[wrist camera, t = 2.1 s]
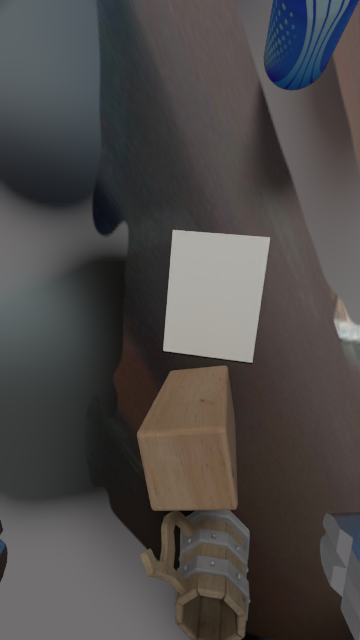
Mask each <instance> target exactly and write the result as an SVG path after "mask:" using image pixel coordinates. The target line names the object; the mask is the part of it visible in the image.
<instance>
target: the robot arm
mask: <svg viewBox="0 0 360 640" xmlns="http://www.w3.org/2000/svg"><path fill="white" fill-rule="evenodd" d="M323 526H324V528H325V530H326V531H327V533H326V534H325V535H324V536H323V537H322V538H321V545H320V553H321V560H322V565H323V568H324V571H325V574H326V576H327V579H328V581H329V583H330V586H331V587H332V588H333V589H334V590H335V591H336V592H338V593H339V594H340V595H341V596H342V602H341V611H342V613H343V615H344V617H345V619H346V622H347V624H348V626H349V628H350V631H351V633H352V635H353V637H354V639H355V640H360V512H343V513H327V514H326V515H325V517H324V523H323ZM2 531H3V528H2V524H1V521H0V534H1V533H2ZM6 563H7V547H6V544H5V543H4V542H3V541H2V540H1V539H0V581H1V579H2V577H3V574H4V570H5V567H6Z"/></svg>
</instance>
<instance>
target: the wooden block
mask: <svg viewBox="0 0 360 640" xmlns="http://www.w3.org/2000/svg"><path fill="white" fill-rule="evenodd" d="M137 438H138V443H139V448H140V453H141V458H142V463H143V468H144V473H145V478H146V483H147V488H148V493H149V498H150V503H151V508H152V510H154V511H171V510H235V509H236V508H237V505H238V497H237V468H236V440H235V416H234V409H233V402H232V395H231V387H230V380H229V373H228V368H227V366H214V367H204V368H194V369H184V370H174V371H171V372H170V373H169V375H168V377H167V379H166V380H165V382H164V384H163V386H162V388H161V390H160V392H159V393H158V395H157V397H156V399H155V401H154V403H153V405H152V406H151V408H150V410H149V412H148V414H147V416H146V418H145V420H144V421H143V423H142V425H141V427H140V429H139V431H138V433H137Z"/></svg>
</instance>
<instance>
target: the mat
mask: <svg viewBox="0 0 360 640" xmlns="http://www.w3.org/2000/svg"><path fill="white" fill-rule="evenodd" d="M269 242H270V237H257V236H244V235H231V234H218V233H205V232H192V231H179V230H173V234H172V247H171V260H170V272H169V285H168V297H167V310H166V322H165V335H164V347H163V351H168V352H175V353H183V354H190V355H198V356H205V357H212V358H220V359H227V360H235V361H242V362H250V363H252V361H253V354H254V347H255V340H256V333H257V326H258V319H259V312H260V305H261V298H262V291H263V284H264V277H265V270H266V263H267V256H268V249H269Z"/></svg>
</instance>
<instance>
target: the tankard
mask: <svg viewBox="0 0 360 640" xmlns="http://www.w3.org/2000/svg"><path fill="white" fill-rule="evenodd" d="M175 525H177V526H178V527H179V528H180V529H181V535H180V557H179V561H180V567H179V568H178V569H177V571H176V570H175V569H174V568H173V566H174V557H175V541H174V528H175ZM161 534H162V550H161V557H160V561H156V559H155V557H154V555H153V552H152V550H151V549H148V550H147V551H146V552H144V553H143V554H141V555H140V558H141V561H142V563H143V565H144V568H145V569H146V572H147V574H148V576H150V577H154V578H159V579H162V580H164V581H167V582H169V583H170V584H171V585H172V586H173V587H174V589H175V606H176V623H177V625H178V626H179V627H180V628H181V629H182V630H183V631H184V632H185V633H186V635H187V636H188V637H190V638H191V640H240V639H242V638H243V637H244V636H245V624H246V620H247V619H248V605H249V602H250V598H249V583H248V580H247V579H246V576H247V572H248V568H247V561H248V553H249V539H250V534H249V529H248V528H247V527H246V526H245V525H244V524H243V523H242V522H241V521H240V520H239V519H238V518H237V517H236V516H235V515H234V514H233V513H232V512H231V511H230V510H195V511H194V512H193V513H191V514H190V515H188V516H187V517H185V516H184V515H183V514H182V513H180V512H179V511H178V510H173V511H172V512H170V513H169V514H167V515H166V516H165V517H164V519H163V523H162V526H161Z"/></svg>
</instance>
